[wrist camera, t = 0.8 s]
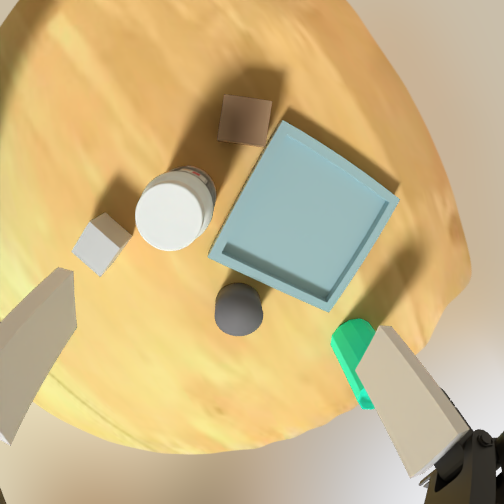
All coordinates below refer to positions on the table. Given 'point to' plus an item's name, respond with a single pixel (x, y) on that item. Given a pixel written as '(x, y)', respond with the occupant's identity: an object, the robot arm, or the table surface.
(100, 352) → the table surface
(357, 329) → the candle
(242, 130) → the walnut block
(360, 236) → the tray
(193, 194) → the pill bottle
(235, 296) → the dark grey stone
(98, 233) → the grey block
